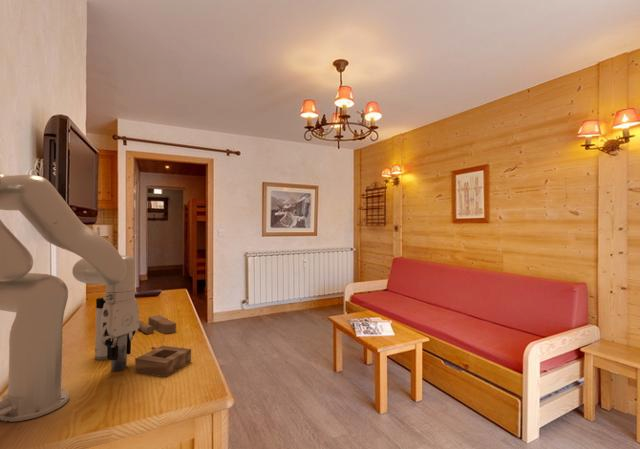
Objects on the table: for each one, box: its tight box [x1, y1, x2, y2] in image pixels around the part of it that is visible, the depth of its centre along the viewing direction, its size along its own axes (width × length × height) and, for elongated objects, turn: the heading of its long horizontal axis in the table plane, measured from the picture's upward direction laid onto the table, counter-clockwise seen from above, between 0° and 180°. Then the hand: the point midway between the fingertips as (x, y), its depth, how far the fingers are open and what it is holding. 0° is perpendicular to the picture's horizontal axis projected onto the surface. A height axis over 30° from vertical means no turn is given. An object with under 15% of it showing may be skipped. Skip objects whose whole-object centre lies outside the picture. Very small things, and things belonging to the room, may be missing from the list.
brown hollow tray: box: [134, 345, 192, 378], centre depth 99 cm, size 11×11×4 cm
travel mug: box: [94, 297, 112, 361], centre depth 106 cm, size 6×7×20 cm
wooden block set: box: [138, 314, 177, 335], centre depth 130 cm, size 17×6×18 cm
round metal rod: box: [110, 334, 128, 372], centre depth 97 cm, size 4×4×14 cm
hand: (119, 356), depth 97 cm, fingers closed on round metal rod, 4 cm apart
